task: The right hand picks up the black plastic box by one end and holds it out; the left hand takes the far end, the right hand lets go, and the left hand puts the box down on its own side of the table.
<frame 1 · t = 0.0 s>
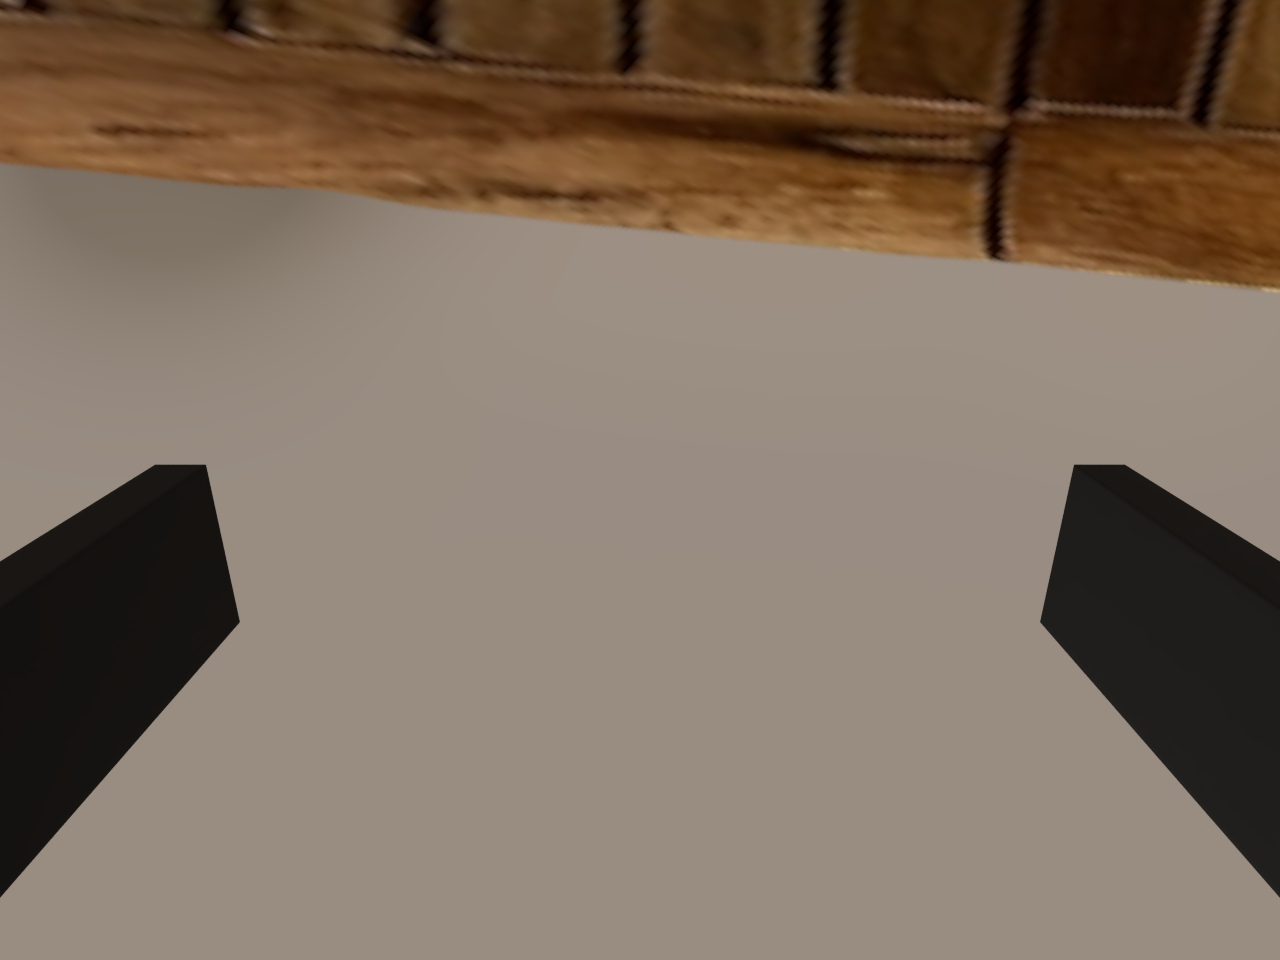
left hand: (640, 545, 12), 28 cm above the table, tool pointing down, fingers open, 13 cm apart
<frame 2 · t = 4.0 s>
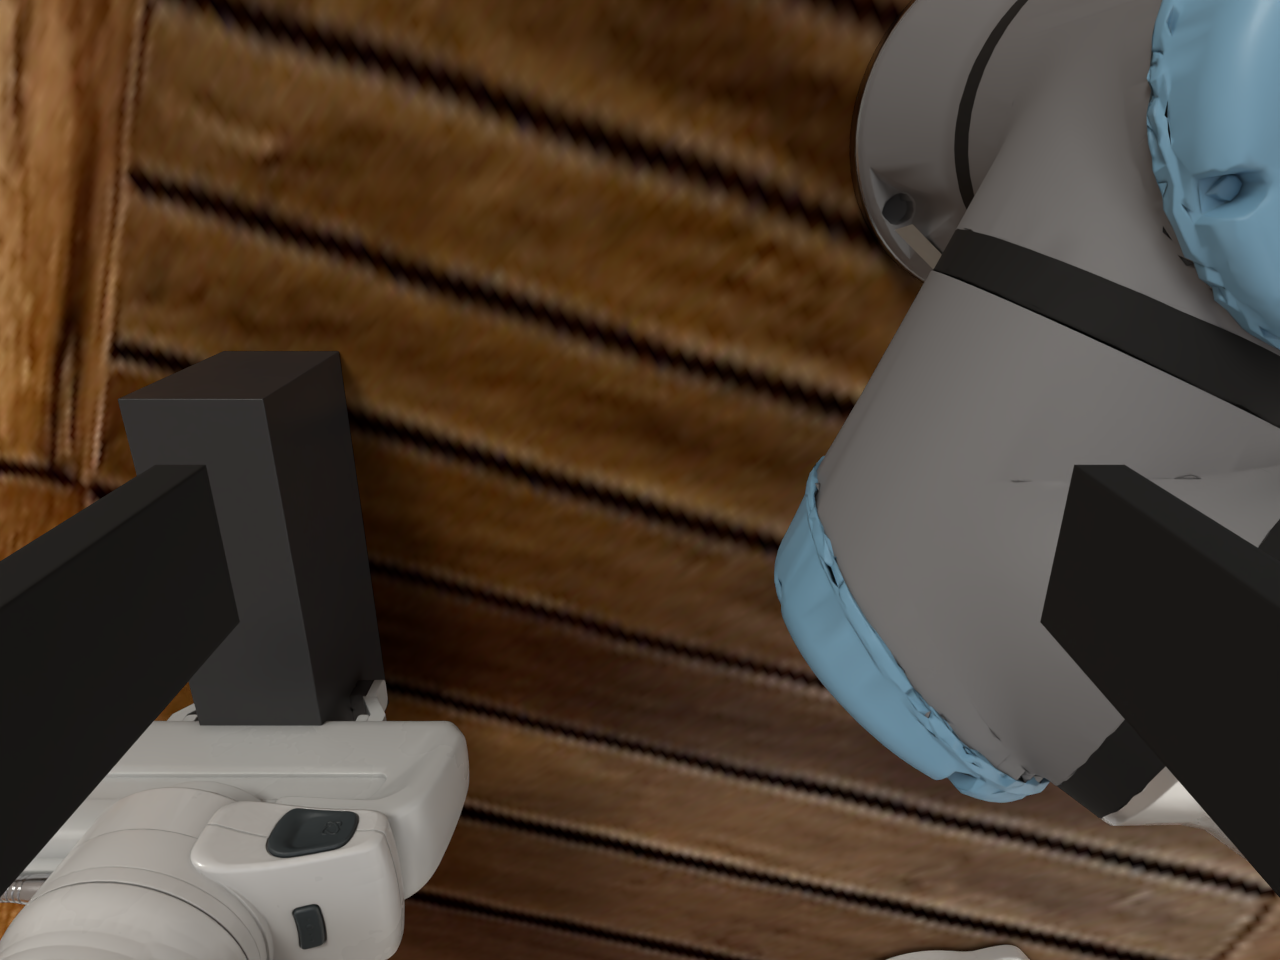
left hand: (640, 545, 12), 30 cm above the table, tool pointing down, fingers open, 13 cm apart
box: (313, 543, 45), on the table, touching right hand
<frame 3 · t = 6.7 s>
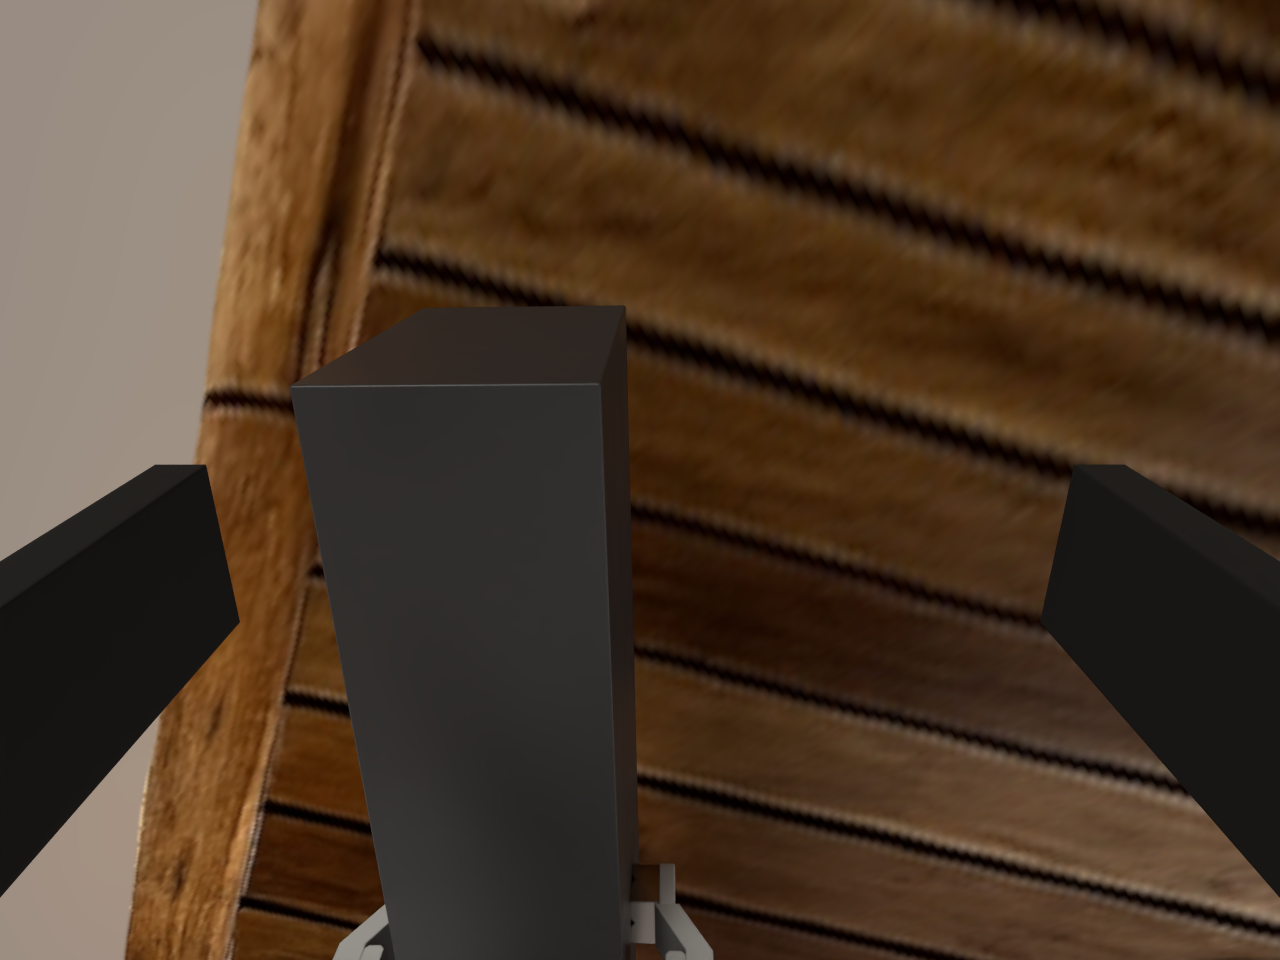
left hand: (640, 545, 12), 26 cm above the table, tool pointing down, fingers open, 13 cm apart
box: (546, 628, 28), point 13 cm above the table, touching right hand
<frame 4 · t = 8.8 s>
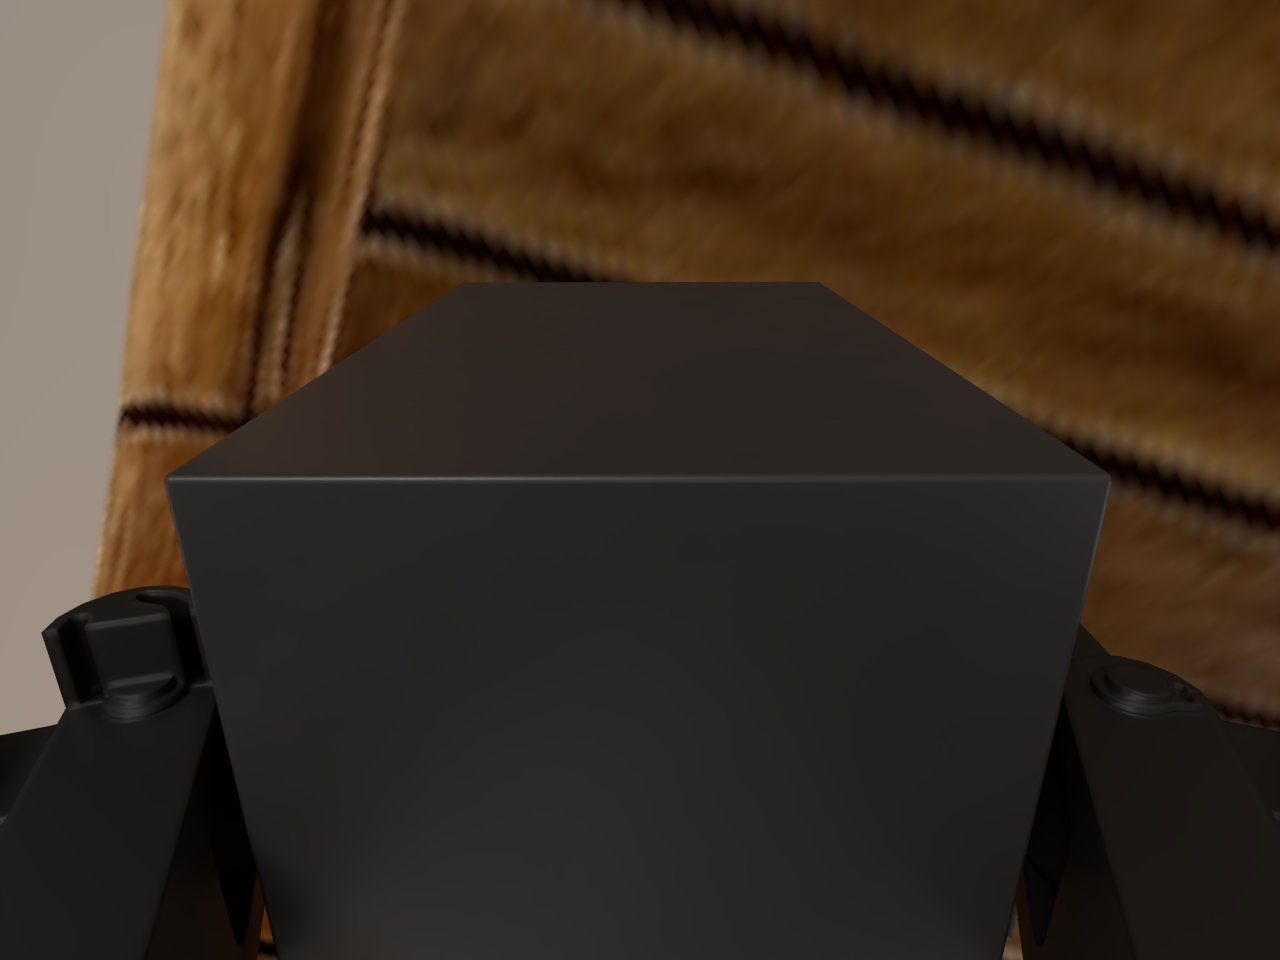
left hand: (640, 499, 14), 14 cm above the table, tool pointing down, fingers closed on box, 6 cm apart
box: (641, 798, 17), point 13 cm above the table, touching left hand, right hand
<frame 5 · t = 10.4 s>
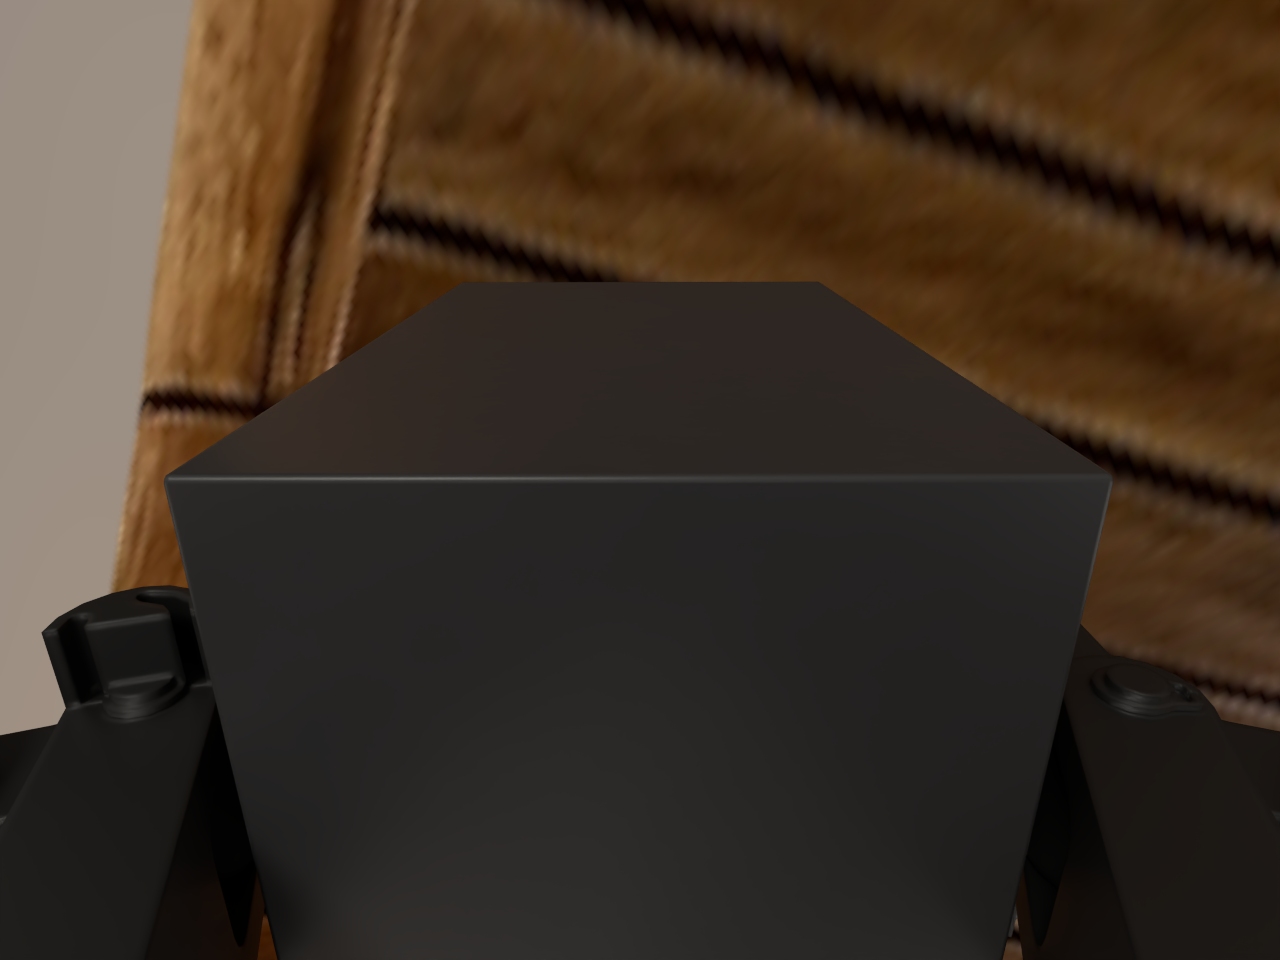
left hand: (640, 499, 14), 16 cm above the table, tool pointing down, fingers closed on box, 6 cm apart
box: (641, 798, 17), point 15 cm above the table, touching left hand
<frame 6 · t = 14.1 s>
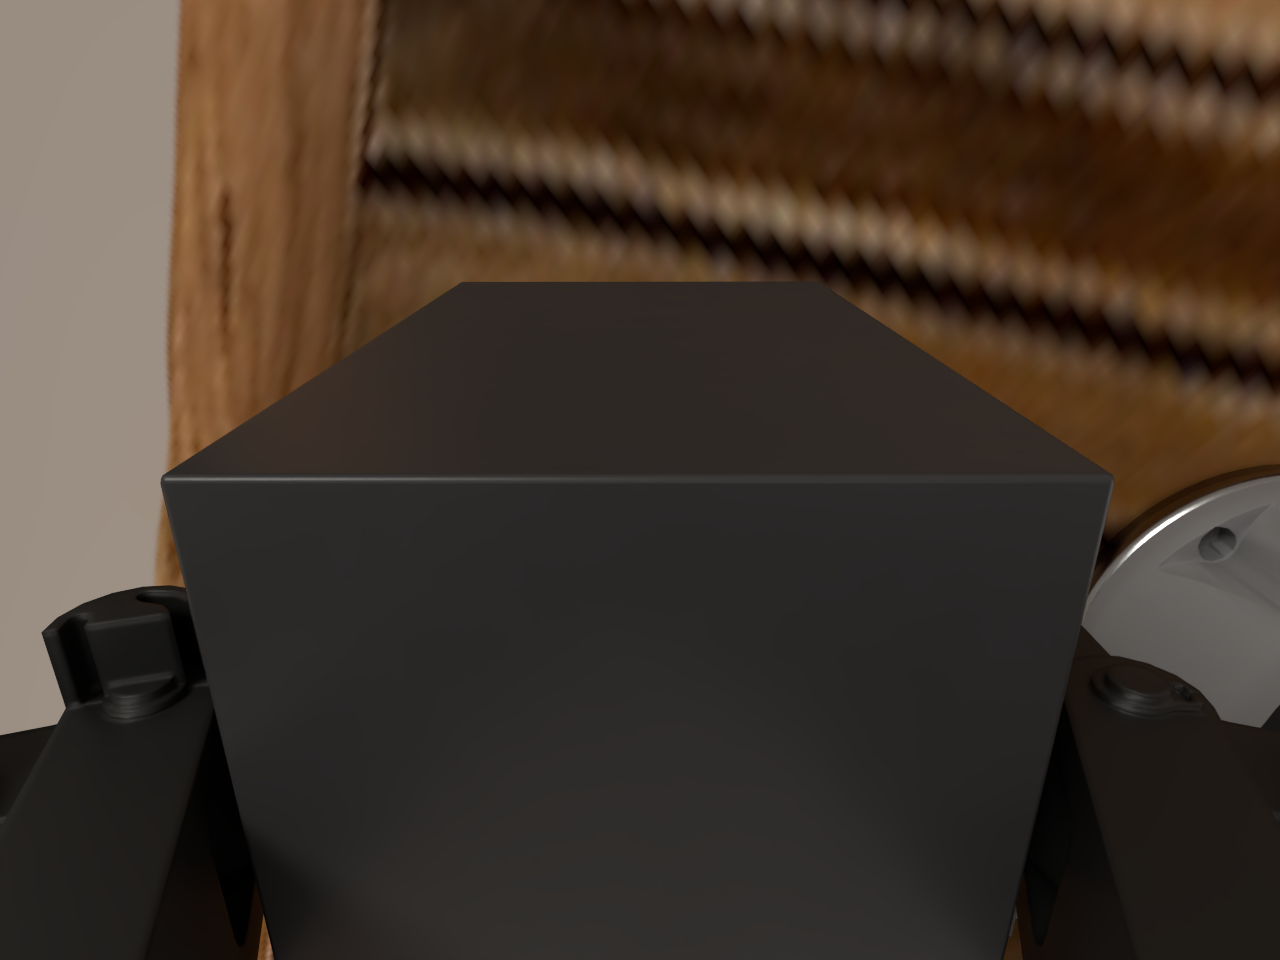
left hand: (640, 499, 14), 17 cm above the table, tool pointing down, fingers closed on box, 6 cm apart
box: (640, 799, 17), point 16 cm above the table, touching left hand
when the left hand's fingers open (2 cm above the table, at t = 19.6 s): box drops 1 cm, on the table.
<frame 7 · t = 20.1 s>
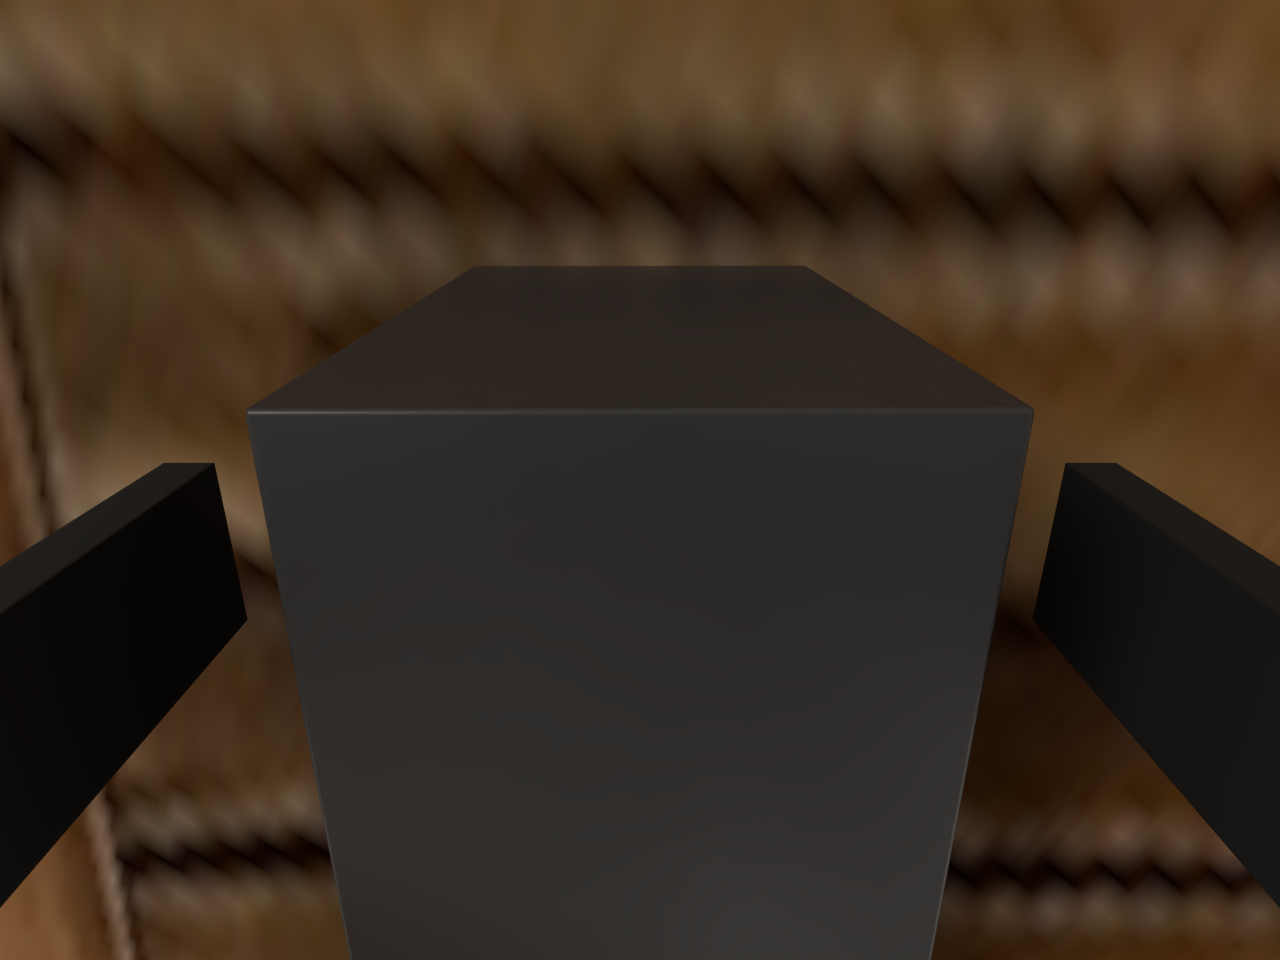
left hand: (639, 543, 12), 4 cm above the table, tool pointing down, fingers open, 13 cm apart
box: (640, 756, 18), on the table
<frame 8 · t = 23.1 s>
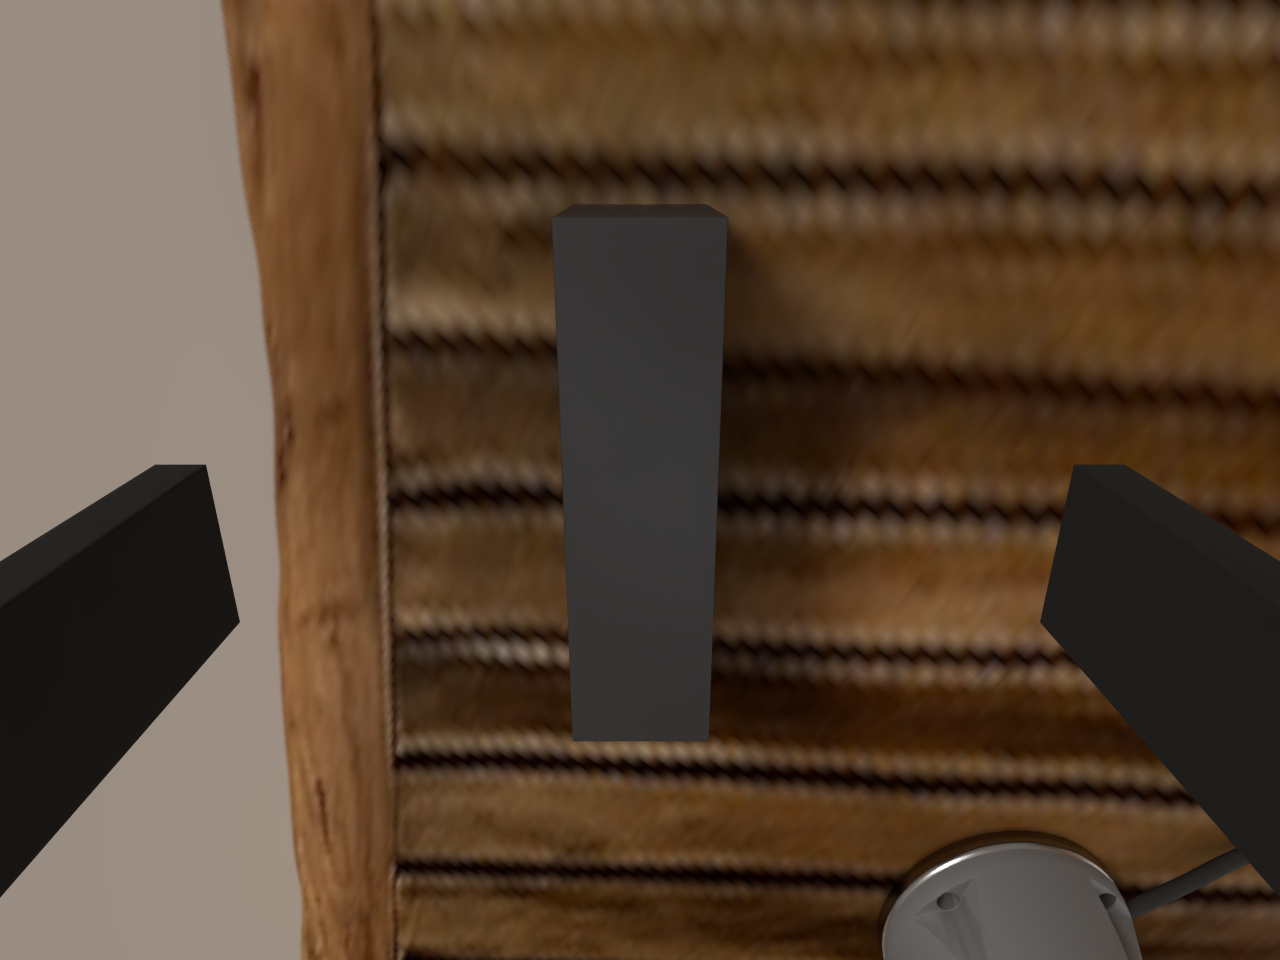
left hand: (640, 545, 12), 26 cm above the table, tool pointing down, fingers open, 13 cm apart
box: (640, 439, 40), on the table
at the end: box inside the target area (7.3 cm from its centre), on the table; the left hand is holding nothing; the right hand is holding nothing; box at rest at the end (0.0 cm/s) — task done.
